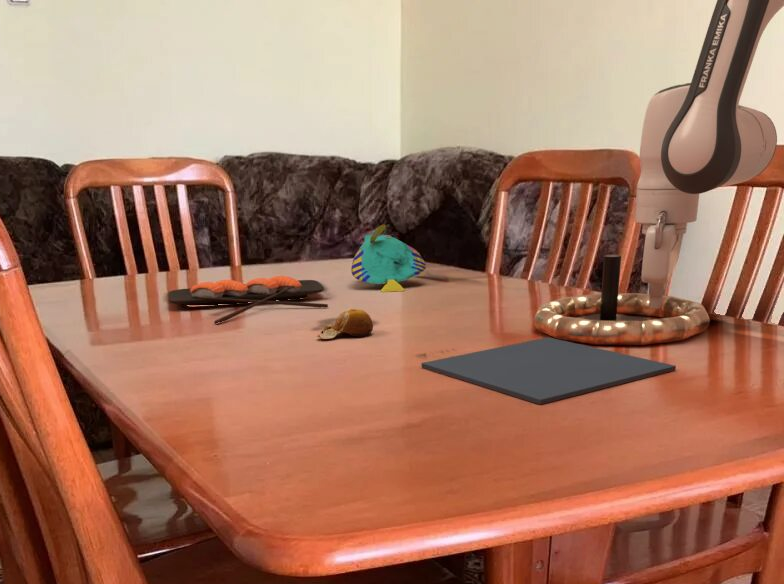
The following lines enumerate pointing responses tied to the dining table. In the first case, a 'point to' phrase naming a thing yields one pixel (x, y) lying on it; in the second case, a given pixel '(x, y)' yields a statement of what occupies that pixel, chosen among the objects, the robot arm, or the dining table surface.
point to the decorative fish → (386, 261)
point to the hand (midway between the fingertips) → (656, 304)
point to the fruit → (349, 324)
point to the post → (610, 293)
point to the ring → (675, 326)
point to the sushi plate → (248, 293)
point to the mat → (547, 369)
